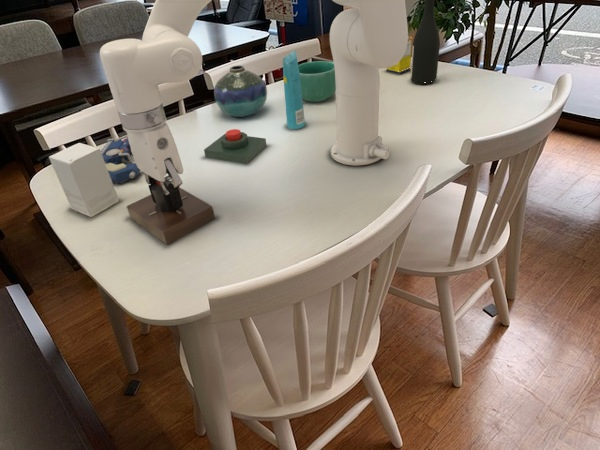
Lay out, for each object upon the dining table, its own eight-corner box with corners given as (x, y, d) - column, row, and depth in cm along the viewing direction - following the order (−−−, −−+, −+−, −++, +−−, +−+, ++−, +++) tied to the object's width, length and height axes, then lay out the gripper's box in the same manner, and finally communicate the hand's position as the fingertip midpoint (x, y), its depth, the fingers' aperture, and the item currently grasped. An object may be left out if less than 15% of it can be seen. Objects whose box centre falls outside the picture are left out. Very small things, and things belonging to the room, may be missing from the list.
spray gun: (168, 143, 121) (113, 148, 122) (163, 128, 118) (108, 133, 119) (146, 185, 104) (82, 189, 105) (140, 169, 101) (75, 174, 102)
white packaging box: (120, 201, 98) (101, 148, 91) (90, 218, 93) (68, 163, 86) (99, 193, 102) (79, 141, 95) (70, 209, 97) (46, 156, 90)
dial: (184, 204, 89) (178, 183, 86) (164, 214, 87) (158, 193, 84) (172, 197, 92) (166, 176, 89) (153, 206, 90) (146, 185, 87)
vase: (212, 110, 139) (203, 66, 131) (259, 99, 143) (254, 56, 136) (225, 127, 127) (217, 80, 119) (276, 115, 131) (271, 69, 124)
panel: (215, 218, 90) (212, 205, 88) (167, 245, 84) (163, 231, 82) (176, 195, 98) (173, 182, 97) (130, 218, 92) (126, 205, 91)
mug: (319, 108, 133) (317, 76, 128) (288, 100, 140) (285, 70, 135) (352, 91, 143) (352, 60, 138) (321, 85, 150) (320, 55, 145)
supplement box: (397, 67, 160) (398, 34, 153) (410, 70, 156) (412, 36, 149) (385, 71, 157) (386, 38, 150) (399, 74, 153) (401, 40, 146)
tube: (292, 120, 128) (285, 49, 117) (308, 121, 126) (303, 49, 115) (283, 131, 122) (275, 58, 111) (300, 132, 121) (294, 58, 109)
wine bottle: (405, 82, 146) (411, -23, 129) (421, 75, 150) (429, -27, 133) (424, 87, 141) (434, -21, 124) (441, 81, 145) (452, -26, 127)
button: (244, 136, 112) (243, 129, 111) (236, 142, 110) (235, 135, 109) (231, 134, 114) (230, 128, 113) (224, 140, 111) (222, 134, 110)
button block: (266, 146, 115) (264, 131, 113) (247, 164, 108) (244, 149, 106) (226, 140, 120) (224, 126, 117) (205, 157, 112) (202, 142, 110)
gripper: (188, 120, 76) (208, 210, 86) (138, 100, 86) (162, 183, 96) (148, 135, 72) (175, 229, 82) (100, 112, 82) (130, 198, 92)
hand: (168, 203), depth 89 cm, fingers closed on dial, 4 cm apart
